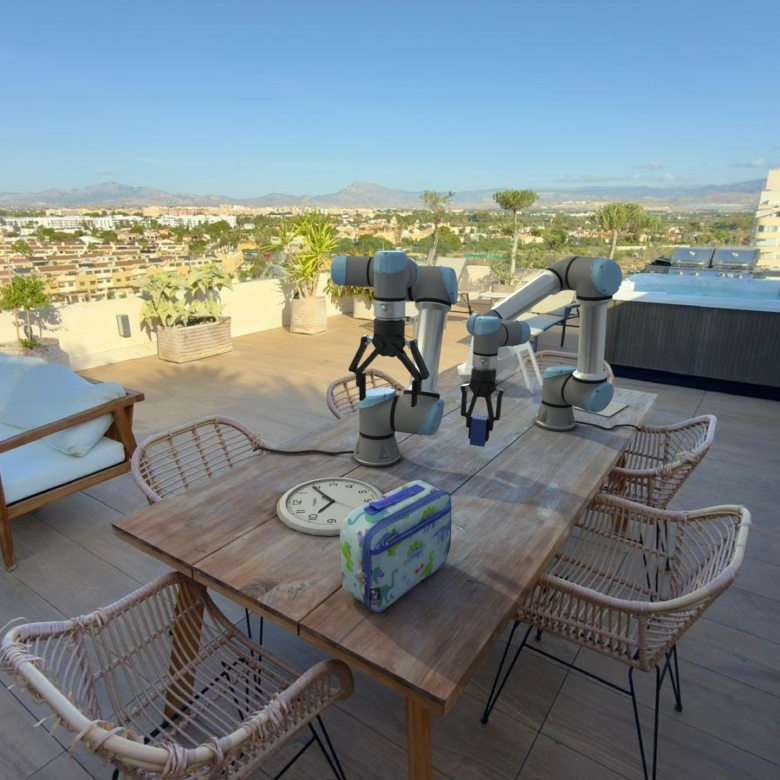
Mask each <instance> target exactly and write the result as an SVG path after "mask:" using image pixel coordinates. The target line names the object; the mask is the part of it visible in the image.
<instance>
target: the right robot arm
mask: <svg viewBox="0 0 780 780" xmlns="http://www.w3.org/2000/svg"><path fill="white" fill-rule="evenodd" d="M622 283H623V272H622V269H621V266H620V265H619V263H617V261H616V260H614V259H612V258H606V257H601V256H600V257H599V256H581V255H573V256H568V257H565V258H563V259H560V260H558V261H556V262H554V263H552V264H550V265H549V266H547V267H546V268H544V269H543V270H541V271H540V272H539V273H538V277H536V278H534V279H532V280H531V281H529V282H528V283H527V284H526V285H524V286H522V287H521V288H519V289H518V290H517V291H515V292H513V293H512V294H510V295H509V296H507V297H506V298H505V299H503V300H501V301H500V302H499V303H497V304H496V305H495V306H493V307H491V308H489V309H488V310H487V311H485V312H484V313H473V314H471V315H470V316H469V317H468V318H467V320H466V323H465V326H466V331H467V332H468V334H469V335H470V336H474V340H473V356H472V366H473V367H472V370H471V380H469V382H468V383H462V384H461V386H460V391H461V403H460V416H462V417H464V418H465V419H466V420H465V428H467V429H468V437H467V439H468V440H470V432H471V418H472V417H473V411H474V408H475V406H476V403H477V400H478V398H483V399H485V403H486V409H487V415H488V416H489V419H488V420H487V425H486V437H485V441H487V442H488V441H489V439H490V432H492V431H493V430H494V426H495V425H494V424H495V422H496V421H499V420H500V419H501V413H502V404H503V395H504V393H505V391H506V390H505V388H503V387H502V388H500V387H499V386H498V385H497V383H496V380H497V377H496V369H495V368H496V367H497V358H498V348H499V347H506V346H511V347H513V346H518V345H521V344H525V343H526V342H527V341H529V340H530V338H531V333H532V332H531V327H530V325H529V323H528V322H526V321H524V320H518V318H519V317H521V316H522V315H523V314H525V313H526V312H527V311H529V310H531V309H532V308H534V307H535V306H536V305H538V304H539V303H541V302H542V301H544V300H545V299H547V298H548V297H550V296H555V295H558V294H559V293H561V292H563V291H573V292H575V300H576V301H577V302H578V303H579V304H580V306H579V327H578V345H577V346H578V348H577V349H578V351H577V367H574V366H569V365H568V366H567V365H557V366H550V367H547V368H546V369H545V371H544V375H543V377H542V379H543V390H542V392H541V402H540V405H539V407H538V410H537V411H536V413H535V416H534V424H535V425H536V426H537V427H539V428H542V429H544V430H549V431H556V432H567V431H572V430H574V429H575V428H576V424H578V425H579V424H580V425H585V426H591V427H596V428H599V429H602V430H604V431H613V430H614V429H615V428H621V427H631V428H634V429H636V430H637V431H642V429H641V428H640V427H638V426H637V425H635V424H631V423H624V424H623V423H621V424H620V423H619V424H615V425H613V426H612V427H605V426H602V425H599V424H596V423H591V422H586V421H579V420H576V418H575V417H576V416H575V413H574V407H579V408H581V409H584V410H586V411H585V412H588V411H591V412H590V413H592V412H594V413H593V414H596V413H597V412H601V411H602V410H604V409H605V408H606V407H607V406H608V405H609V403H610V402H611V401H613V398H614V394H615V387H614V386H613V384H612V383H611V382H609V381H608V373H607V372H606V371H605V370H604V365H605V364H604V363H605V362H604V361H605V350H606V349H605V348H606V331H607V318H608V317H607V315H608V304H609V302H610V301H612V300H613V298H614V295H615V294H617V293H618V291H619V290H620V287H621V286H622ZM515 319H517V320H516V321H513V320H515ZM469 389H470V391H471V392H472V394H473V395H472V398H471V400H470V405H469V407H468V410H467V404H468V391H469ZM494 392H495V394H496V396H497V397H496V407H495V414H494V408H493V402H492V401H493V400H492V394H493V393H494ZM584 410H583V411H584Z"/></svg>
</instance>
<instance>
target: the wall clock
mask: <svg viewBox="0 0 780 780" xmlns="http://www.w3.org/2000/svg"><path fill="white" fill-rule="evenodd" d="M384 494H385V493H383V492H382V491H381V490H380V489H379V488H377V487H376V486H374V485H372V484H371V483H369V482H365V481H362V480H359V479H355V478H349V477H338V476H337V477H335V476H333V477H332V476H331V477H322V478H317V479H312V480H307V481H305V482H302V483H299V484H297V485H295V486H293V487H292V488H290V489H288V490H287V491H286V492H285V493H284V494H283V495H281V496H280V498H279V499H278V502H277V503H276V515H277V517H278V518H279V520H280V521H281V522H282V523H283V524H285V525H286V526H287V527H288V528H290V529H293V530H295V531H297V532H299V533H303V534H308V535H312V536H327V537H328V536H329V537H331V536H332V537H333V536H340V530H341V526H342V523H343V521H344V519H345V518H346V516H347V515H348V514H349V513H350V512H351V511H353V510H354V509H356V508H358V507H360V506H362V505H364V504H366V503H368V502H370V501H372V500H374V499H376V498H378V497H380V496H382V495H384Z"/></svg>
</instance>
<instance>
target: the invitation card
mask: <svg viewBox="0 0 780 780" xmlns="http://www.w3.org/2000/svg"><path fill="white" fill-rule="evenodd" d="M628 406H629V404H627V403H623V402H618V401H614V400H611V402H610V403H609V405H608V406H607V407H606V408H605V409H604V410H602V411H601V412H597V413H594V412H591V411H586V410H584V409H581V408H579V407H576V406H573V409H575V410H581V411H584V412H587V413H593V414H596V415H600V416H604V417H608V418H609V417H611V416H613V415H614V414H616V413H617V412H619V411H621V410H623V409H624V408H626V407H628Z"/></svg>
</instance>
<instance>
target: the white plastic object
mask: <svg viewBox="0 0 780 780" xmlns="http://www.w3.org/2000/svg"><path fill="white" fill-rule="evenodd" d="M516 320H518V318H516V319H515V320H513V321H516ZM471 336H472V337H471V340H470V345H469V350H468V355H467V359H466V361H465V362H464V363H462V364H459V365H457V366H456V368H457V372H458V376H459V377H460V379H461V380H462V381H471V370H472V367H473V366H472V356H473V340H474V336H473V335H471ZM527 356H529V357H530V359H531V360H530V361H531V362H532V365H533V369H534V372H535V375H536V379H537V381H538V384H539V387H540V389H541V390H542V391H543V380H544V379H543V375H542V373H541V369H540V367H539V364H538V361H537V358H536V355H535V352H534V349H533V346H532V344H531V342H530V341H529V340H528V341H527V342H526V343H525V344H521V345H518V346H516V345H515V346H506V347H499V348H498V358H497V367H496V368H495V369H496V378H497V377H498V378H499V377H500V374H502V372H504V371H506V370H507V369H508V368H510V367H511V366H512V365H514V364H515V363H517V362H519V366H520V369H521V373H522V376H523V378H524V382H525V386H526V388H527V389H528V390H529V392H530V393H531V394H532V395H534V388H533V385H532V382H531V379H530V376H529V373H528V370H527V366H526V363H525V360H524V358H525V357H527Z"/></svg>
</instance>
